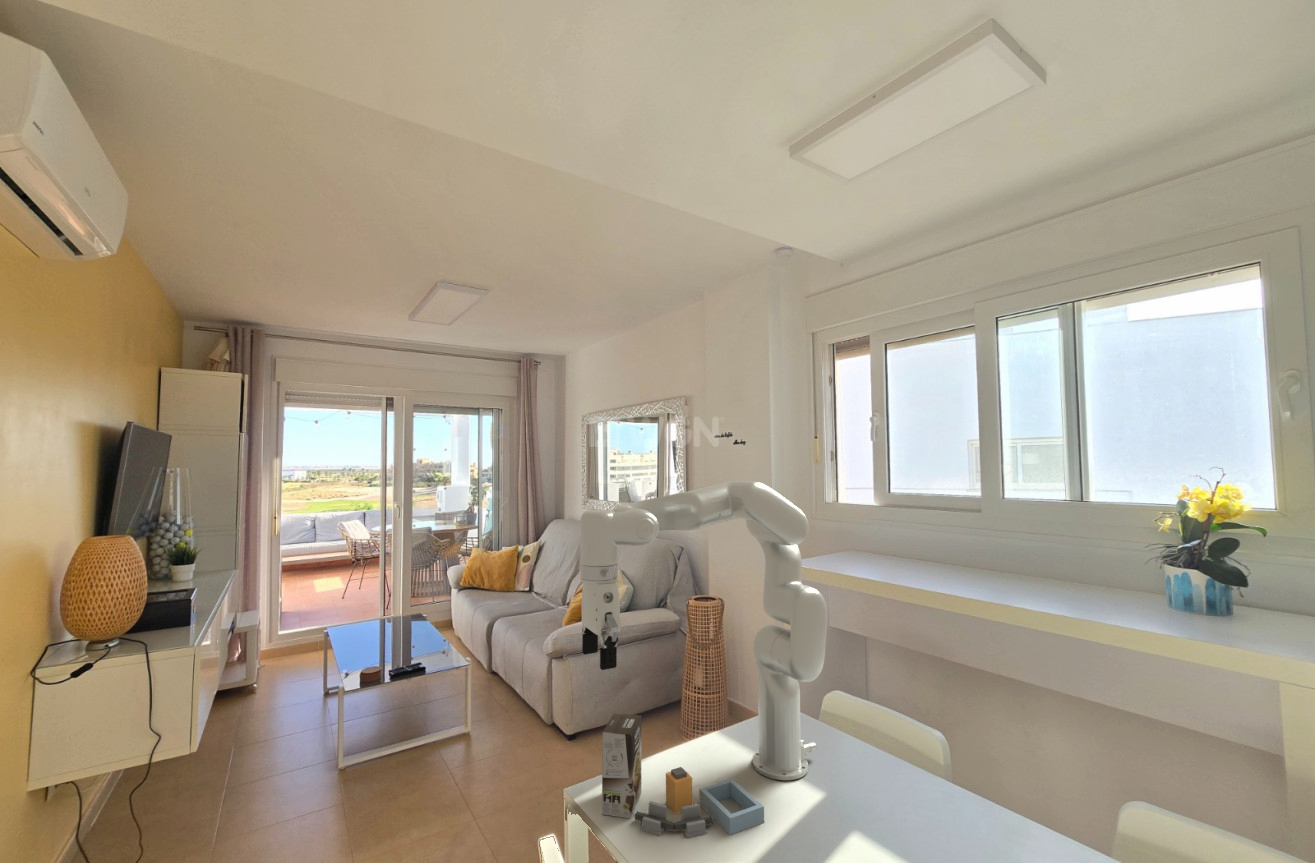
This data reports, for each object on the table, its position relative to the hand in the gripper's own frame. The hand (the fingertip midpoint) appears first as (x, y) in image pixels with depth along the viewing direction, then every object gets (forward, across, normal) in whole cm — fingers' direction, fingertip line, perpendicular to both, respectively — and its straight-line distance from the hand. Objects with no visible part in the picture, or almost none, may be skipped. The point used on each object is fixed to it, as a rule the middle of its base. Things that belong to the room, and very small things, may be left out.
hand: (598, 660), depth 110 cm
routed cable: (+30, -7, -13) cm, 34 cm away
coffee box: (+31, +4, -7) cm, 32 cm away
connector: (+31, -2, -17) cm, 35 cm away
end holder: (+31, -9, -25) cm, 41 cm away
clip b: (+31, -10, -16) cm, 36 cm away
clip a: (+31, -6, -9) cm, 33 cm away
